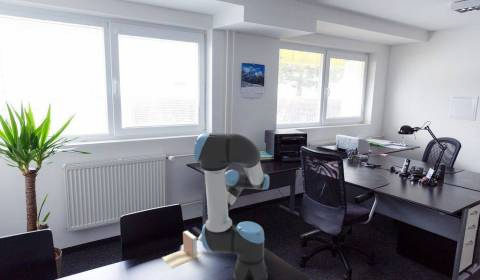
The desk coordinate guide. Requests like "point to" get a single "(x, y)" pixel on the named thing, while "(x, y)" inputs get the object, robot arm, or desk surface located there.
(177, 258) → the board
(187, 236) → the tile
